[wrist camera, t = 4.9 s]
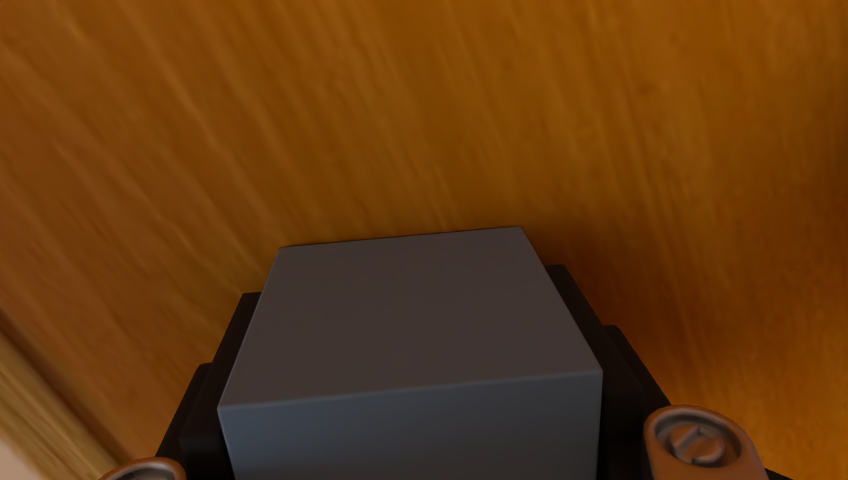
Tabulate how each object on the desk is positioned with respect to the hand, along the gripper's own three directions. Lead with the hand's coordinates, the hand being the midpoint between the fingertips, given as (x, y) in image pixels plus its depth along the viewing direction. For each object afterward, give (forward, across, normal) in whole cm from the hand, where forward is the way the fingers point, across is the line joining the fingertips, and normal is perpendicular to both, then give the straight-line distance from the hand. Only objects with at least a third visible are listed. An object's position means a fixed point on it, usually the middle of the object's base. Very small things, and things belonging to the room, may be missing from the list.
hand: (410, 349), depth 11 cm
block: (0, 0, 0) cm, 0 cm away
